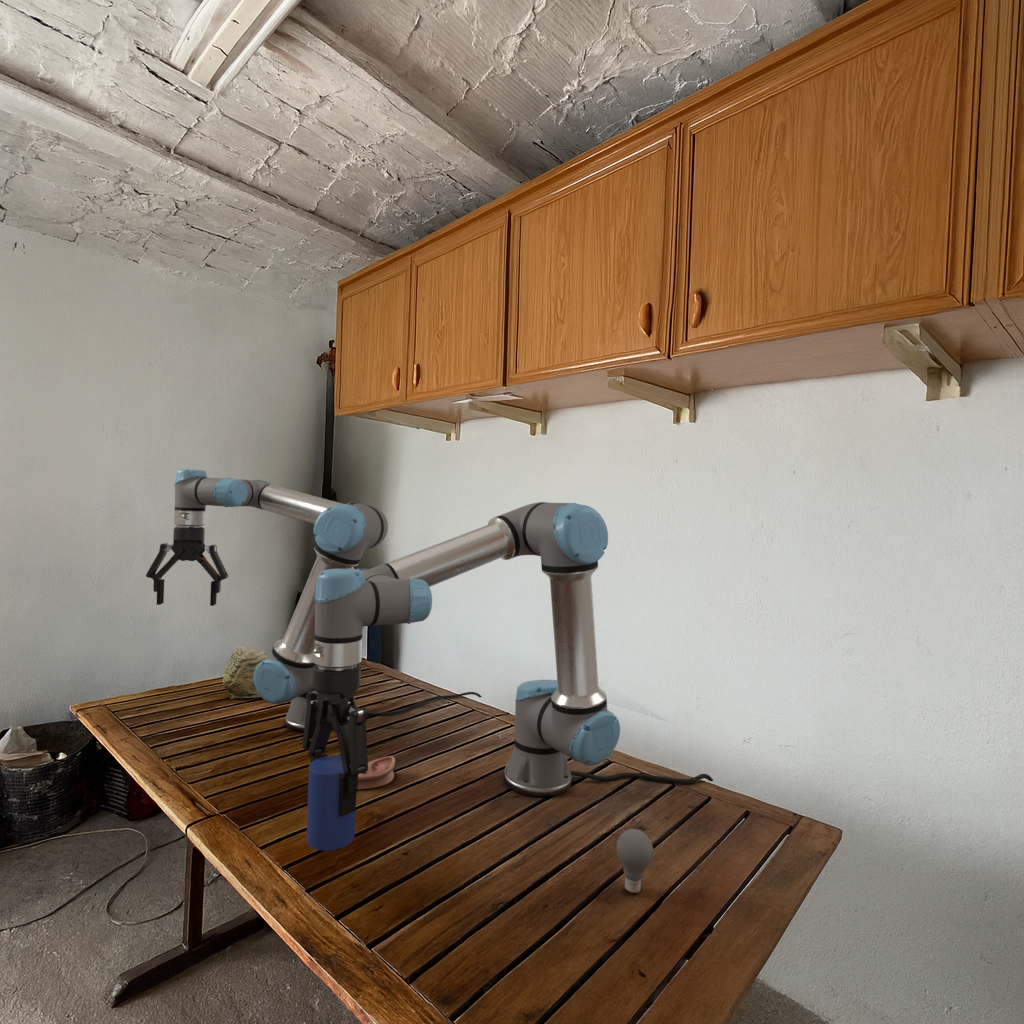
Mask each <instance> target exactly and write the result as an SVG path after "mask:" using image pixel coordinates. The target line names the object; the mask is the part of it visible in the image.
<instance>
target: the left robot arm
mask: <svg viewBox="0 0 1024 1024" xmlns="http://www.w3.org/2000/svg"><path fill="white" fill-rule="evenodd" d="M206 506H211V507H212V506H213V507H214V506H215V507H223V508H234V507H235V508H237V507H251V508H256V509H259V510H262V511H267V512H271V513H273V514H277V515H281V516H284V517H288V518H291V519H295V520H298V521H301V522H305V523H308V524H313V525H314V526H313V535H314V541H315V544H314V547H313V551H315V553H316V559H315V561H314V564H313V566H312V568H311V571H310V573H309V575H308V578H307V581H306V583H305V585H304V588H303V591H302V593H301V595H300V598H299V600H298V602H297V605H296V607H295V610H294V612H293V614H292V617H291V619H290V622H289V624H288V627H287V629H286V631H285V634H284V636H283V638H282V639H281V638H280V639H279V640H277V641H275V642H274V645H273V647H272V649H271V651H270V653H269V655H268V656H269V658H268V659H266V660H263V661H262V662H261V663H260V664H259V665H258V666H257V667H256V669H255V671H254V685H255V687H256V688H257V692H258V694H259V695H260V696H261V697H260V698H262V700H264V701H266V702H267V703H269V704H273V705H281V704H285V703H289V702H290V704H289V708H288V711H287V713H286V715H285V726H286V728H287V729H289V730H291V731H294V732H295V731H296V732H301V733H304V728H305V720H306V712H307V697H306V696H307V693H310V692H314V691H315V690H314V689H313V687H312V685H313V668H314V667H315V666H316V664H315V663H314V644H315V595H316V585H317V578H318V575H319V574H320V572H322V571H324V570H328V569H353V568H354V567H356V566H358V565H359V564H360V561H361V560H362V557H363V554H364V553H365V550H369V549H373V548H375V547H377V546H379V545H380V544H381V543H382V542H383V541H384V540H385V538H387V537H386V536H387V534H388V531H389V523H388V519H387V517H386V515H385V514H384V512H383V511H382V510H381V509H379V508H378V507H376V506H373V505H371V504H361V503H358V502H357V503H356V502H353V501H350V502H348V503H342V502H339V501H335V500H330V499H327V498H324V497H319V496H316V495H312V494H309V493H304V492H301V491H297V490H295V489H294V490H293V489H290V488H286V487H283V486H280V485H279V486H278V485H275V484H272V483H271V482H269V481H265V480H262V479H261V480H260V479H243V478H242V479H241V478H234V477H208V475H207V471H206V470H203V469H187V468H180V469H178V470H177V471H176V473H175V480H174V511H173V515H174V516H173V525H175V526H174V528H173V537H172V538H173V542H172V544H169V543H168V542H164V543H161V544H160V545H159V550H158V553H157V555H156V556H155V558H154V560H153V562H152V563H151V564H150V567H149V569H147V572H146V574H145V577H146V578H148V579H152V581H153V587H152V589H153V592H154V593H156V605H157V606H160V605H162V604H164V602H165V601H164V599H165V578H163V577H164V576H165V575H166V574H167V573H168V572H169V571H170V569H172V567H174V565H175V564H177V562H179V561H181V562H184V561H185V562H186V561H187V562H188V561H189V562H195V561H196V562H197V563H199V564H200V566H201V567H202V568H203V569H204V570H205V572H206V573H207V574H208V575H209V576H210V577H211V578H212V580H211V581H210V598H209V599H210V600H209V606H210V607H214V606H215V605H217V599H218V598H217V594H219V593H221V588H222V587H221V585H222V581H223V580H226V579H228V578H229V574H228V572H227V569H226V567H225V566H224V564H223V562H222V560H221V557H220V556H219V553H218V547H217V545H216V544H211V545H210V544H209V545H206V544H205V532H206V529H205V527H203V526H205V525H206ZM170 551H172V552H173V555H172V556H171V557H170V558H169V560H168V561H166V563H165V564H164V565H163V566H162V567H161V568H160V566H161V564H162V562H163V561H164V560H165V558H166V556H167V554H168V552H170ZM205 552H207V553H208V554H209V556H210V558H211V560H212V562H213V564H214V566H215V568H216V569H215V568H214V567H213V566H212V565H211V563H210V562H209V561H208V559H207V557H206V556H205V555H204V553H205ZM159 568H160V569H159ZM158 569H159V570H158ZM162 578H163V579H162ZM468 695H473V696H476V697H478V698H483V696H482V695H481V694H480V693H478V692H475V691H467V692H466V691H465V692H462V693H457V694H448V695H440V696H439V695H438V696H434V697H429V698H426V699H423V700H421V701H419V702H417V703H414V704H411V705H409V706H407V707H403V708H401V709H397V710H392V711H386V712H385V711H384V712H383V711H381V712H380V711H379V712H376V711H375V712H373V711H371V712H370V711H367V716H389V715H395V714H399V713H403V712H405V711H408V710H410V709H413V708H417V707H419V706H420V705H423V704H425V703H428V702H430V701H435V700H441V699H451V698H459V697H463V696H464V697H465V696H468ZM339 725H340V726H341V724H339ZM331 730H333V727H332V729H331Z"/></svg>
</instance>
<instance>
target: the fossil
mask: <svg viewBox="0 0 1024 1024" xmlns="http://www.w3.org/2000/svg"><path fill="white" fill-rule="evenodd" d="M269 656H270V655H268V654H267V653H266V652H265V650H264V649H263V648H260V647H258V648H251V647H247V646H246V647H245V646H238V647H237V648H236V649H235V650H233V651H232V653H231V656H230V657H229V659H228V660H227V663H226V666H225V668H224V671H223V675H222V676H223V677H222V685H223V687H224V688H225V690H226V691H228V693H229V698H230V699H250V698H262V697H261V696H260V695H259V694H258V692H257V688H256V687H255V685H254V671H255V669H256V667H257V666H258V665H259V664H260V663H261V662H262V661H263V660H266V659H268V658H269Z"/></svg>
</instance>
